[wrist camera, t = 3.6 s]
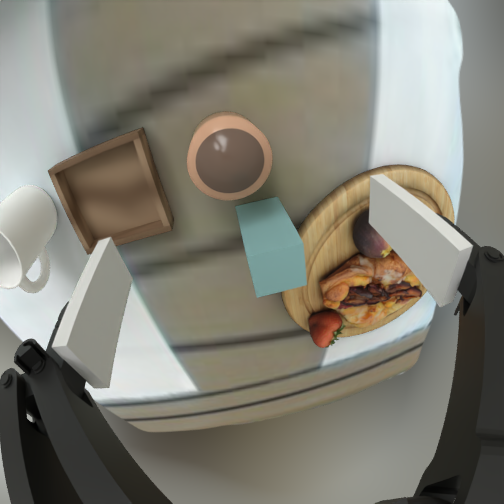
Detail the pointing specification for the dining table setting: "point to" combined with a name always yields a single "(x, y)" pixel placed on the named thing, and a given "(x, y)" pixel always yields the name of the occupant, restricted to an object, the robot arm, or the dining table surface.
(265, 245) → the teal block
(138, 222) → the walnut box
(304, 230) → the wooden plate with food
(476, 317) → the robot arm
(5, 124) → the dining table surface
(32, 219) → the mug
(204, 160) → the terracotta pot
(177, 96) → the dining table surface
